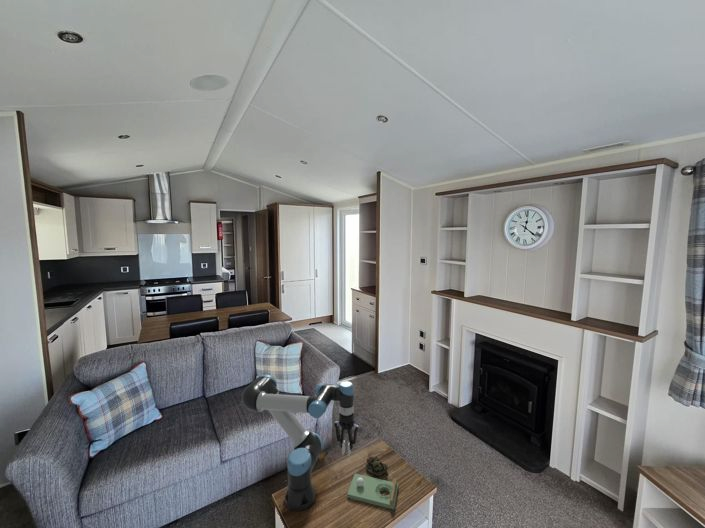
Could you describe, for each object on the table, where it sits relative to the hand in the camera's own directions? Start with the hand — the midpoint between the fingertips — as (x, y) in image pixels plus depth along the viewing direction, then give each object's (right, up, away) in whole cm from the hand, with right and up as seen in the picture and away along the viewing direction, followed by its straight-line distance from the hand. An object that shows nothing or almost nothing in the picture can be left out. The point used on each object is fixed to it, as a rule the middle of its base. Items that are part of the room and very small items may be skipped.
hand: (346, 453), depth 165 cm
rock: (+17, -17, +13) cm, 28 cm away
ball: (+7, -15, 0) cm, 16 cm away
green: (+14, -19, -2) cm, 24 cm away
